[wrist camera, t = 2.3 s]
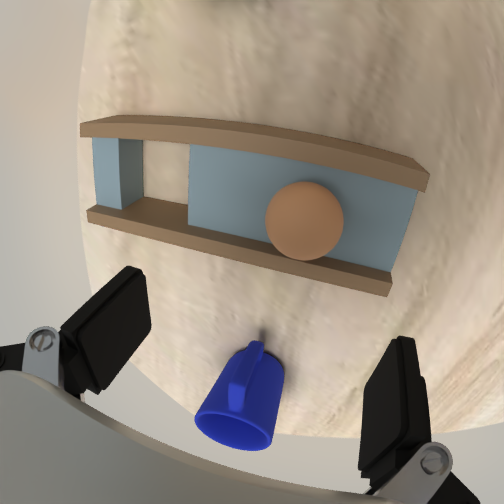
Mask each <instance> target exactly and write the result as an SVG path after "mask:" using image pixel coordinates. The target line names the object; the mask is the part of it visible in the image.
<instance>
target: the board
mask: <svg viewBox="0 0 504 504" xmlns="http://www.w3.org/2000/svg"><path fill="white" fill-rule="evenodd" d="M80 137H92V147H93V166H94V180H95V191H96V201H97V205H95V206H93V207H91V208H90V209H88V210H86V211H87V218H88V222H89V223H93V224H97V225H101V226H104V227H108V228H112V229H116V230H120V231H123V232H127V233H131V234H135V235H139V236H142V237H146V238H150V239H154V240H158V241H162V242H165V243H169V244H173V245H177V246H181V247H185V248H189V249H193V250H197V251H200V252H204V253H208V254H212V255H216V256H220V257H224V258H228V259H232V260H236V261H240V262H244V263H248V264H252V265H256V266H260V267H264V268H268V269H272V270H276V271H280V272H284V273H288V274H292V275H297V276H301V277H305V278H309V279H313V280H317V281H321V282H325V283H329V284H334V285H338V286H342V287H346V288H350V289H355V290H359V291H363V292H367V293H371V294H376V295H380V296H384V297H387V296H388V294H389V291H390V289H391V287H392V284H393V283H392V277H391V270H392V268H393V265H394V262H395V260H396V257H397V254H398V251H399V249H400V246H401V243H402V240H403V237H404V234H405V231H406V228H407V225H408V222H409V219H410V216H411V213H412V210H413V206H414V203H415V200H416V196H417V193H418V191H421V192H425V190H426V187H427V183H428V180H429V176H430V174H429V173H428V172H427V171H426V170H425V169H424V168H423V167H422V166H421V165H419V164H418V163H417V162H416V161H415V160H414V159H413V158H409V157H406V156H403V155H399V154H396V153H392V152H389V151H385V150H381V149H378V148H374V147H370V146H366V145H362V144H358V143H354V142H350V141H345V140H341V139H336V138H332V137H327V136H322V135H317V134H312V133H307V132H302V131H296V130H290V129H284V128H278V127H272V126H265V125H258V124H250V123H242V122H234V121H225V120H214V119H203V118H190V117H173V116H144V115H116V116H111V117H106V118H102V119H97V120H93V121H88V122H84V123H80ZM143 140H152V141H164V142H175V143H185V144H190V159H189V190H188V205H184V204H179V203H174V202H169V201H164V200H159V199H153V198H148V197H143V157H142V142H143ZM302 181H306V182H313V183H317V184H319V185H321V186H323V187H325V188H327V189H328V190H329V191H330V192H331V193H332V194H333V195H334V196H335V197H336V199H337V200H338V202H339V204H340V206H341V208H342V212H343V218H344V225H343V231H342V234H341V237H340V239H339V241H338V242H337V244H336V245H335V247H334V248H333V249H332V250H331V251H329V252H328V253H327V254H325V255H324V256H322V257H320V258H317V259H313V260H296V259H293V258H290V257H288V256H286V255H284V254H282V253H281V252H280V251H279V250H278V249H276V247H275V246H274V245H273V244H272V242H271V241H270V239H269V237H268V234H267V231H266V226H265V215H266V210H267V207H268V205H269V203H270V201H271V199H272V198H273V196H274V195H275V194H276V193H277V192H278V191H279V190H280V189H282V188H283V187H285V186H287V185H289V184H292V183H295V182H302Z"/></svg>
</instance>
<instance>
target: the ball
mask: <svg viewBox="0 0 504 504" xmlns="http://www.w3.org/2000/svg"><path fill="white" fill-rule="evenodd" d="M343 225H344V218H343V212H342V208H341V206H340V204H339V202H338V200H337V199H336V197H335V196H334V195H333V194H332V193H331V192H330V191H329V190H328V189H327V188H325V187H323V186H321V185H319V184H317V183H313V182H306V181H302V182H295V183H292V184H289V185H287V186H285V187H283V188H282V189H280V190H279V191H278V192H277V193H276V194H275V195H274V196H273V198H272V199H271V201H270V203H269V205H268V207H267V210H266V215H265V226H266V231H267V234H268V237H269V239H270V241H271V242H272V244H273V245H274V246H275V247H276V249H278V250H279V251H280V252H281V253H282V254H284V255H286V256H288V257H290V258H293V259H296V260H313V259H317V258H320V257H322V256H324V255H325V254H327V253H328V252H329V251H331V250H332V249H333V248H334V247H335V245H336V244H337V242H338V241H339V239H340V237H341V234H342V231H343Z"/></svg>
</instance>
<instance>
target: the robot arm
mask: <svg viewBox="0 0 504 504" xmlns="http://www.w3.org/2000/svg"><path fill="white" fill-rule="evenodd" d="M60 328H61V330H60V331H59V332H57V331H56V330H55V329H54V328H52V327H49V326H44V327H39V328H37V329H35V330H33V331H32V332H31V333H30V334H29V335H28V337H27V339H26V343H21V344H15V345H9V346H2V347H0V504H480V501H479V500H478V498H477V497H476V496H475V495H474V494H473V493H472V492H471V491H470V490H469V489H468V488H467V487H466V486H465V485H464V484H463V483H462V482H461V481H460V480H459V479H458V478H457V477H456V476H455V475H454V474H453V473H452V472H451V469H452V465H453V459H452V455H451V453H450V451H449V449H448V448H447V447H446V446H444V445H443V444H441V443H438V442H432V441H431V427H430V416H429V406H428V398H427V390H426V383H425V379H424V377H423V376H421V375H420V368H419V362H418V355H417V349H416V344H415V340H414V338H410V337H405V336H398V337H397V339H392V340H391V342H390V344H389V346H388V348H387V349H386V351H385V353H384V355H383V356H382V358H381V360H380V362H379V363H378V365H377V367H376V368H375V370H374V372H373V373H372V375H371V377H370V378H369V380H368V382H367V383H366V385H365V388H364V395H363V414H362V429H361V441H360V452H359V461H358V470H360V471H362V472H361V478H369V479H370V486H371V487H370V488H369V489H368V490H367V491H365V492H364V493H363V494H357V493H351V492H342V491H334V490H328V489H321V488H315V487H309V486H304V485H299V484H293V483H288V482H284V481H279V480H274V479H271V478H266V477H262V476H258V475H255V474H251V473H247V472H243V471H240V470H237V469H233V468H230V467H227V466H224V465H221V464H218V463H214V462H211V461H209V460H206V459H203V458H200V457H197V456H194V455H192V454H189V453H187V452H184V451H182V450H179V449H176V448H174V447H172V446H169V445H167V444H165V443H162V442H160V441H158V440H155V439H153V438H151V437H148V436H146V435H144V434H142V433H140V432H138V431H136V430H134V429H132V428H130V427H128V426H126V425H124V424H122V423H120V422H118V421H116V420H114V419H112V418H110V417H109V416H107V415H105V414H103V413H101V412H100V411H98V410H96V409H94V408H93V407H91V406H89V405H87V404H86V403H85V399H84V392H85V391H86V389H88V390H90V391H92V392H93V393H95V394H97V395H98V394H99V393H100V392H101V390H105V389H106V388H107V387H108V386H109V385H110V383H111V382H112V381H113V379H114V378H115V377H116V375H117V374H118V373H119V371H120V370H121V369H122V368H123V366H124V365H125V364H126V362H127V361H128V360H129V358H130V357H131V356H132V354H133V353H134V352H135V351H136V349H137V348H138V347H139V345H140V344H141V343H142V342H143V340H144V339H145V338H146V336H147V335H148V334H149V332H150V330H151V317H150V310H149V302H148V294H147V285H146V277H145V275H144V274H143V272H142V270H141V269H138V268H135V267H132V266H126V267H125V268H124V269H122V270H121V271H120V272H119V273H118V274H117V275H116V276H115V277H113V278H112V279H111V280H110V281H109V282H108V283H107V284H106V285H104V286H103V287H102V288H101V289H100V290H99V291H98V292H97V293H96V294H95V295H93V296H92V297H91V298H90V299H89V300H88V301H87V302H86V303H85V304H84V305H83V306H82V307H81V308H80V309H78V310H77V311H76V312H75V313H74V314H73V315H72V316H71V317H70V318H69V319H68V320H67V321H66V322H65V323H64V324H63V325H62V326H61V327H60Z"/></svg>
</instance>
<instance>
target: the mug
mask: <svg viewBox="0 0 504 504" xmlns="http://www.w3.org/2000/svg"><path fill="white" fill-rule="evenodd" d="M263 350H264V344H263V343H262V342H259V341H255V340H254V341H251V342H250V343H249V345H248V346H247V348H246V350H244V351H241V352H238V353H236V354H235V355H234V356H232V357H231V359H230V360H229V361H228V363H227V364H226V366H225V368H224V369H223V371H222V373H221V374H220V376H219V378H218V379H217V381H216V383H215V384H214V386H213V387H212V389H211V391H210V392H209V394H208V396H207V397H206V399H205V400H204V402H203V404H202V405H201V407H200V409H199V410H198V412H197V413H196V415H195V423H196V425H197V427H198V428H199V429H200V430H201V431H202V432H203V433H204V434H205V435H207V436H208V437H209V438H211V439H213V440H215V441H216V442H218V443H221V444H223V445H226V446H229V447H232V448H235V449H240V450H247V451H258V450H263V449H266V448H267V447H269V446H270V445H271V442H272V438H273V434H274V429H275V424H276V419H277V414H278V409H279V404H280V399H281V394H282V388H283V383H284V371H283V368H282V366H281V364H280V363H279V362H278V361H277V360H276V359H275V358H274V357H272V356H271V355H269V354H267V353H264V352H263Z"/></svg>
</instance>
